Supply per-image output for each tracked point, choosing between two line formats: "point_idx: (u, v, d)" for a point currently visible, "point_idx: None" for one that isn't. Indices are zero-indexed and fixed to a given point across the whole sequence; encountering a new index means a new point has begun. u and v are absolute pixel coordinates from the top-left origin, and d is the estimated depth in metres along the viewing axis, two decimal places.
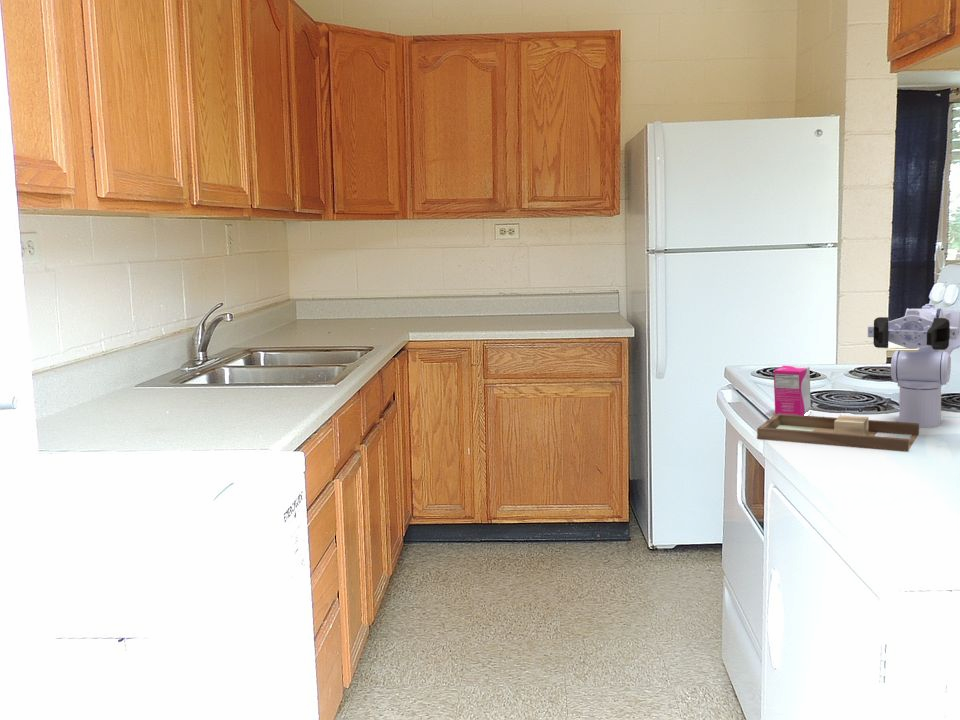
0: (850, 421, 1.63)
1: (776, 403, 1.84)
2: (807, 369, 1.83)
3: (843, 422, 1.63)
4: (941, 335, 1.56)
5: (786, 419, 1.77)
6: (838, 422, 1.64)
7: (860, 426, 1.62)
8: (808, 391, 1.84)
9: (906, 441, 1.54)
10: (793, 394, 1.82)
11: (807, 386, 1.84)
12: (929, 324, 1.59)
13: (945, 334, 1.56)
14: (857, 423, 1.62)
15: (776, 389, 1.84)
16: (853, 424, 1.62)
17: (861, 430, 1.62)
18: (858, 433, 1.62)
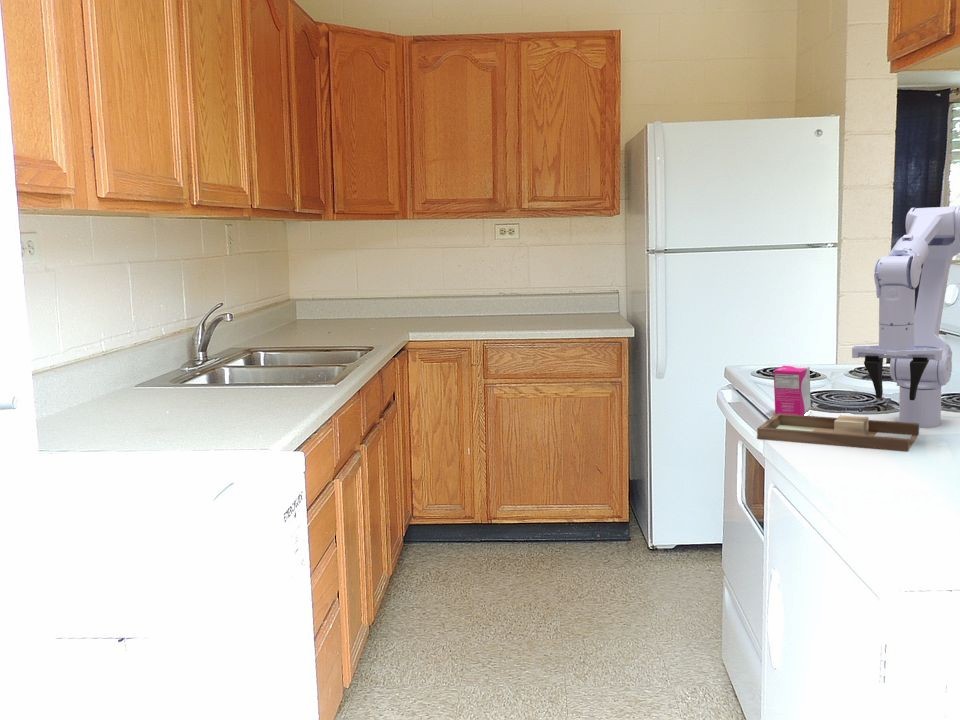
0: (850, 421, 1.63)
1: (776, 403, 1.84)
2: (807, 369, 1.83)
3: (843, 422, 1.63)
4: None
5: (786, 419, 1.77)
6: (838, 422, 1.64)
7: (860, 426, 1.62)
8: (808, 391, 1.84)
9: (906, 441, 1.54)
10: (793, 394, 1.82)
11: (807, 386, 1.84)
12: None
13: None
14: (857, 423, 1.62)
15: (776, 389, 1.84)
16: (853, 424, 1.62)
17: (861, 430, 1.62)
18: (858, 433, 1.62)
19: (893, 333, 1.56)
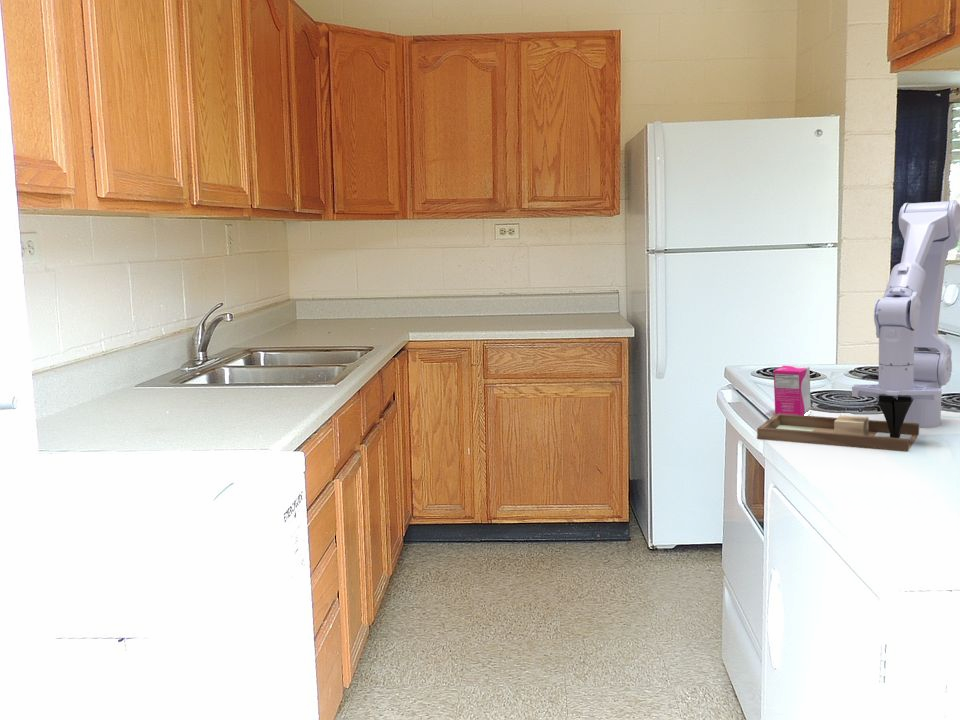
0: (850, 421, 1.63)
1: (776, 403, 1.84)
2: (807, 369, 1.83)
3: (843, 422, 1.63)
4: None
5: (786, 419, 1.77)
6: (838, 422, 1.64)
7: (860, 426, 1.62)
8: (808, 391, 1.84)
9: (906, 441, 1.54)
10: (793, 394, 1.82)
11: (807, 386, 1.84)
12: None
13: None
14: (857, 423, 1.62)
15: (776, 389, 1.84)
16: (853, 424, 1.62)
17: (861, 430, 1.62)
18: (858, 433, 1.62)
19: (892, 373, 1.57)
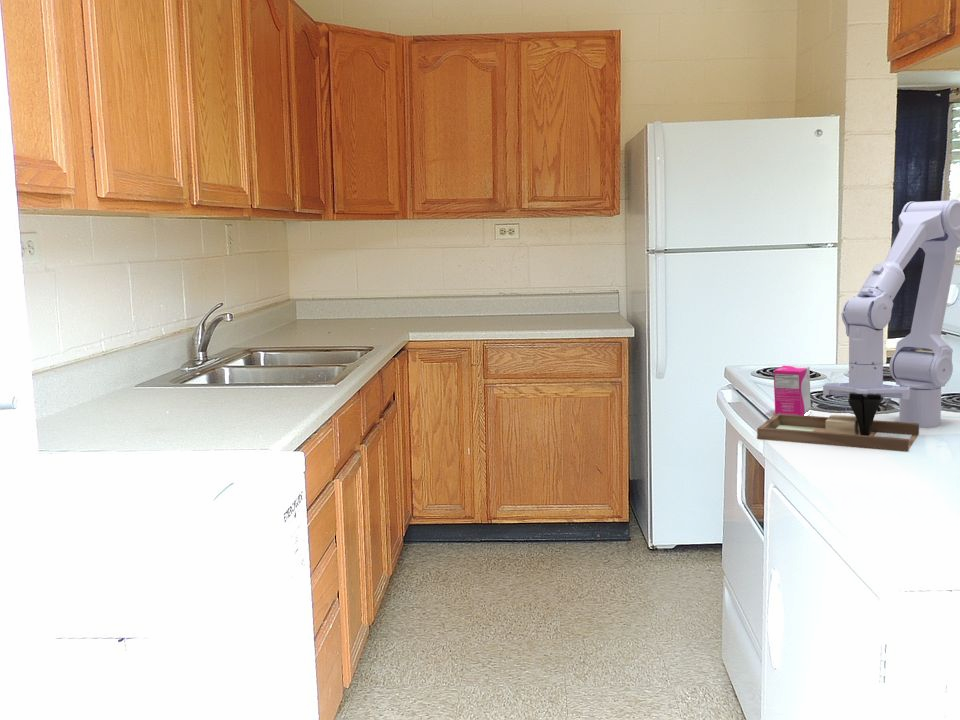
0: (841, 420, 1.64)
1: (776, 403, 1.84)
2: (807, 369, 1.83)
3: (834, 421, 1.64)
4: None
5: (786, 419, 1.77)
6: (829, 421, 1.64)
7: (851, 425, 1.62)
8: (808, 391, 1.84)
9: (906, 441, 1.54)
10: (793, 394, 1.82)
11: (807, 386, 1.84)
12: (880, 392, 1.60)
13: None
14: (848, 422, 1.63)
15: (776, 389, 1.84)
16: (844, 423, 1.63)
17: (852, 429, 1.63)
18: (849, 432, 1.63)
19: (862, 372, 1.60)
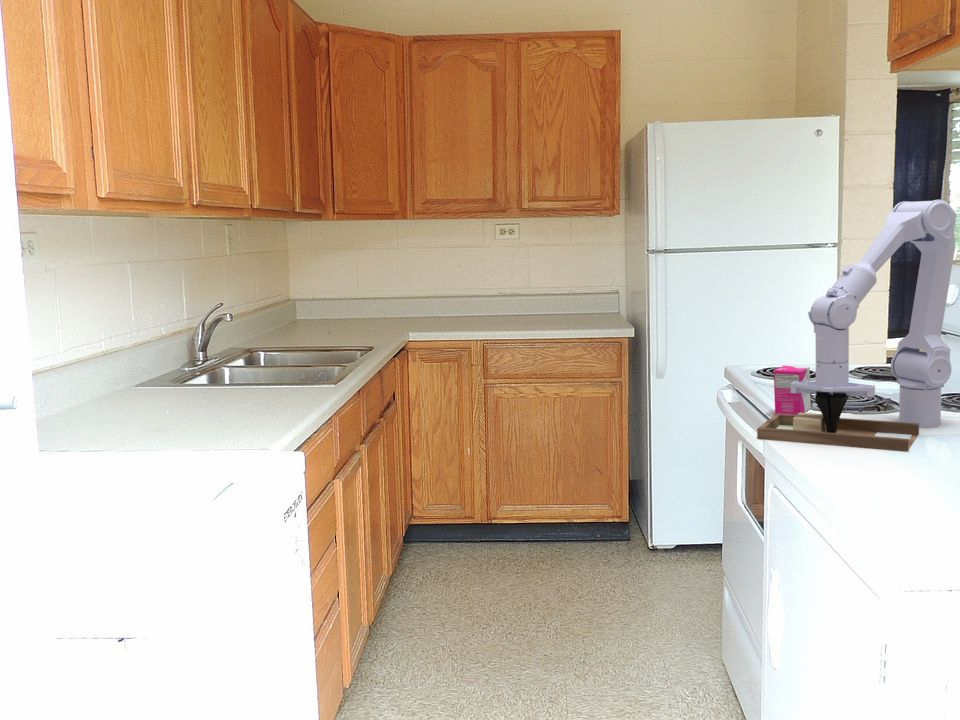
0: (808, 418, 1.67)
1: (776, 403, 1.84)
2: (807, 369, 1.83)
3: (801, 419, 1.67)
4: None
5: (786, 419, 1.77)
6: (797, 419, 1.68)
7: (817, 423, 1.66)
8: None
9: (906, 441, 1.54)
10: (793, 394, 1.82)
11: None
12: (846, 390, 1.63)
13: None
14: (815, 420, 1.66)
15: (776, 389, 1.84)
16: (811, 421, 1.66)
17: (819, 427, 1.66)
18: (816, 430, 1.66)
19: (828, 370, 1.63)
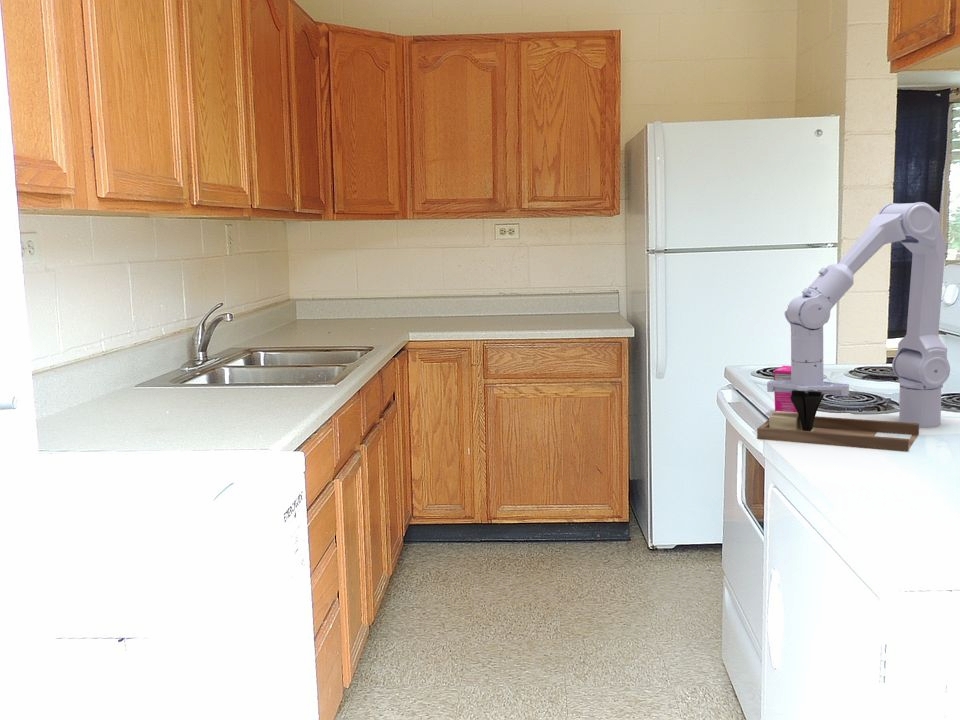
0: (784, 416, 1.70)
1: (776, 403, 1.84)
2: None
3: (777, 417, 1.70)
4: None
5: None
6: (773, 417, 1.70)
7: (793, 421, 1.68)
8: None
9: (906, 441, 1.54)
10: None
11: None
12: (820, 389, 1.65)
13: None
14: (790, 418, 1.69)
15: None
16: (787, 419, 1.69)
17: (794, 425, 1.68)
18: (791, 428, 1.69)
19: (802, 369, 1.65)
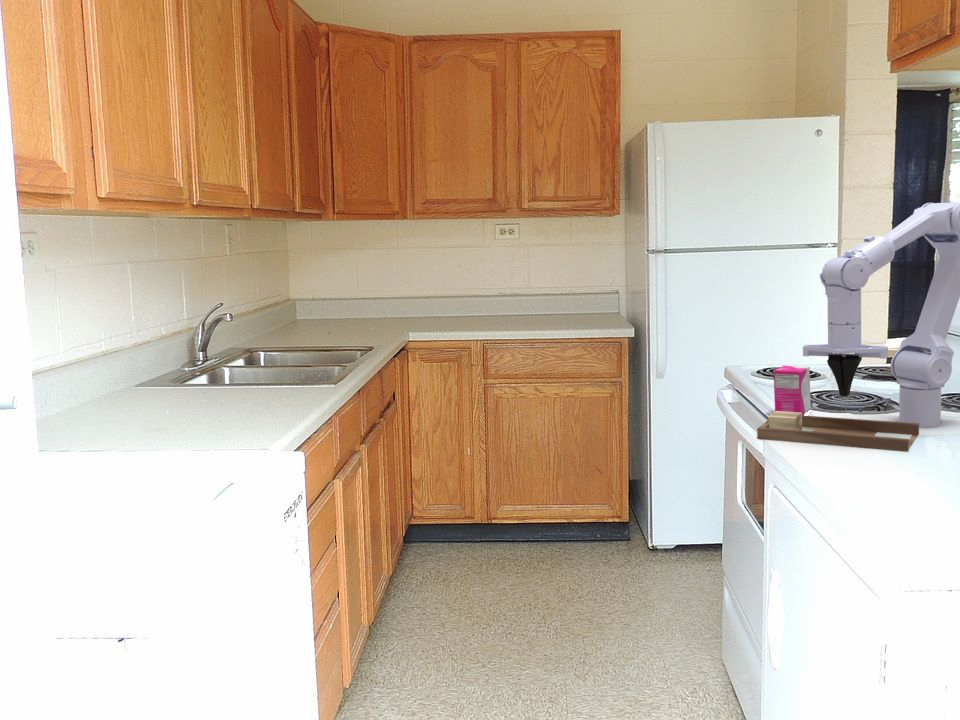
0: (783, 416, 1.70)
1: (776, 403, 1.84)
2: (807, 369, 1.83)
3: (777, 417, 1.70)
4: None
5: None
6: (772, 417, 1.70)
7: (792, 421, 1.68)
8: (808, 391, 1.84)
9: (906, 441, 1.54)
10: (793, 394, 1.82)
11: (807, 386, 1.84)
12: None
13: None
14: (790, 418, 1.69)
15: (776, 389, 1.84)
16: (786, 419, 1.69)
17: (793, 425, 1.68)
18: (791, 428, 1.69)
19: (840, 332, 1.61)
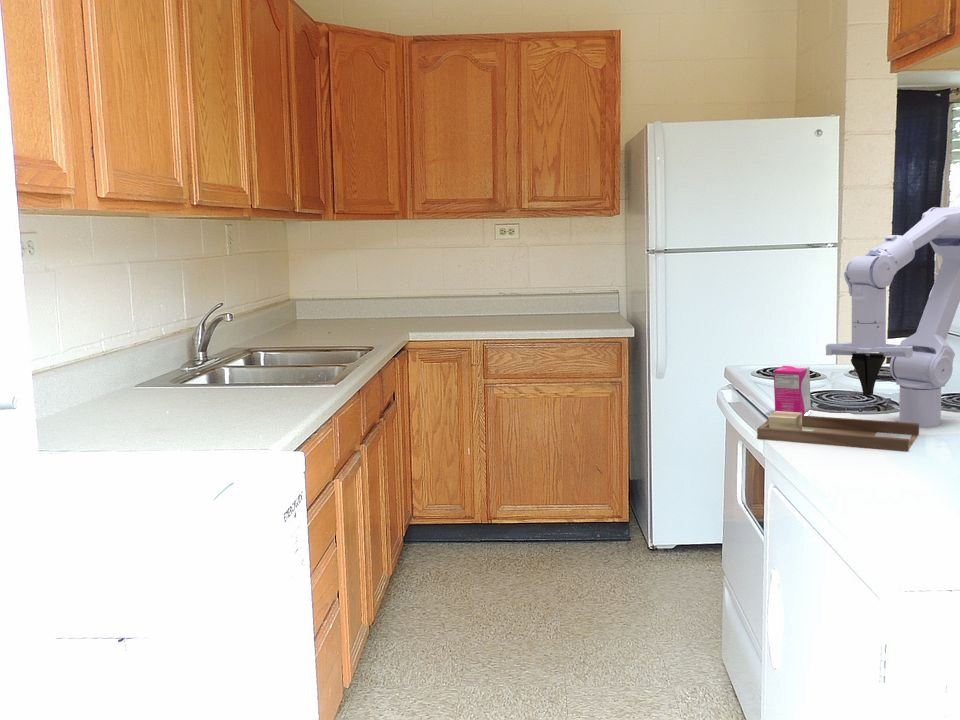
0: (783, 416, 1.70)
1: (776, 403, 1.84)
2: (807, 369, 1.83)
3: (777, 417, 1.70)
4: None
5: None
6: (772, 417, 1.70)
7: (792, 421, 1.68)
8: (808, 391, 1.84)
9: (906, 441, 1.54)
10: (793, 394, 1.82)
11: (807, 386, 1.84)
12: (883, 351, 1.60)
13: None
14: (790, 418, 1.69)
15: (776, 389, 1.84)
16: (786, 419, 1.69)
17: (793, 425, 1.68)
18: (791, 428, 1.69)
19: (864, 331, 1.60)
